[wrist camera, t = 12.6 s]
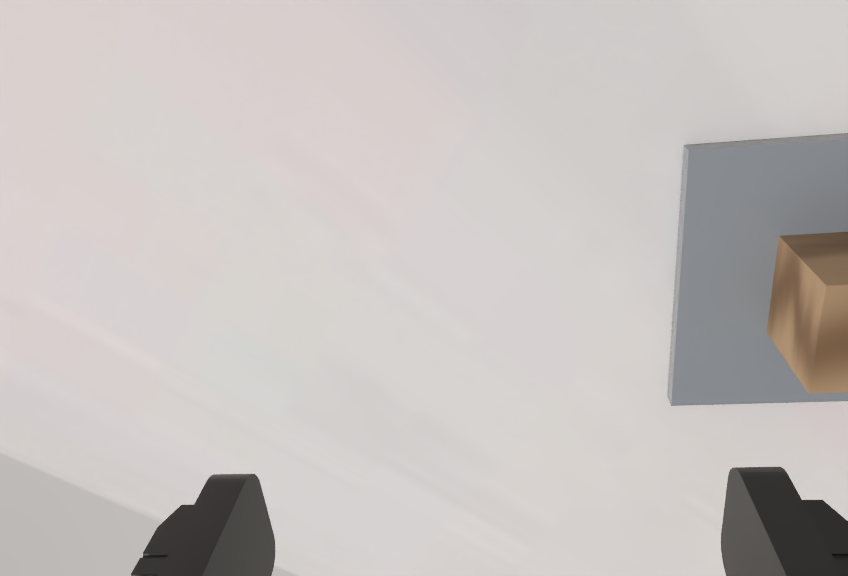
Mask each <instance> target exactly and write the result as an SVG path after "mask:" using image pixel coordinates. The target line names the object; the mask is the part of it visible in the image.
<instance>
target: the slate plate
mask: <svg viewBox="0 0 848 576" xmlns="http://www.w3.org/2000/svg"><path fill="white" fill-rule="evenodd" d="M834 232H848V133H847V134H833V135H819V136H805V137H791V138H777V139H763V140H749V141H735V142H721V143H707V144H693V145H684V155H683V170H682V185H681V200H680V215H679V230H678V246H677V261H676V276H675V291H674V306H673V321H672V336H671V351H670V366H669V382H668V399H669V401H670V404H671V406H676V405H714V404H751V403H788V402H825V401H848V392H840V393H810V394H808V392H807V391H806V389H805V388H804V386H803V385H802V383H801V382H800V380H799V379H798V378H797V376H796V375H795V373H794V372H793V370H792V369H791V367H790V366H789V364H788V363H787V362H786V360H785V359H784V357H783V356H782V354H781V353H780V351H779V350H778V348H777V347H776V346H775V344H774V343H773V341H772V340H771V338H770V337H769V335H768V334H767V325H768V317H769V310H770V302H771V294H772V286H773V278H774V271H775V263H776V255H777V247H778V239H779V236H784V235H801V234H817V233H834Z"/></svg>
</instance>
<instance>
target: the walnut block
mask: <svg viewBox="0 0 848 576" xmlns="http://www.w3.org/2000/svg"><path fill="white" fill-rule="evenodd" d="M767 334H768V335H769V337H770V338H771V340H772V341H773V343H774V344H775V346H776V347H777V348H778V350H779V351H780V353H781V354H782V356H783V357H784V359H785V360H786V362H787V363H788V364H789V366H790V367H791V369H792V370H793V372H794V373H795V375H796V376H797V378H798V379H799V380H800V382H801V383H802V385H803V386H804V388H805V389H806V391H807V392H808V394H810V393H840V392H848V232H834V233H817V234H801V235H784V236H779V239H778V247H777V255H776V263H775V271H774V278H773V286H772V294H771V302H770V310H769V317H768V325H767Z"/></svg>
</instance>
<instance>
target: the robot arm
mask: <svg viewBox="0 0 848 576" xmlns="http://www.w3.org/2000/svg"><path fill="white" fill-rule="evenodd" d="M721 550H722V558H723V564H724V569H725V572H726V576H848V521H847V520H845V519H844V518H843V517H842V516H841V515H840V514H838V513H837V512H836V511H835V510H834V509H832V508H831V507H830V506H829V505H828V504H827V503H825V502H824V501H823V500H801V498H800V496H799V494H798V492H797V490H796V489H795V487H794V485H793V483H792V481H791V479H790V478H789V476H788V474H787V472H786V471H785V470H784V469H783V468H781V467H745V468H732V469H731V470H730V472H729V476H728V483H727V491H726V500H725V508H724V516H723V525H722V533H721ZM274 560H275V539H274V534H273V530H272V527H271V523H270V519H269V515H268V511H267V508H266V504H265V500H264V496H263V492H262V489H261V485H260V482H259V479H258V477H257V476H256V475H255V474H218V475H212V476H211V477H210V478H209V479H208V480H207V482H206V484H205V486H204V487H203V489H202V491H201V493H200V495H199V497H198V499H197V501H196V503H195V504H194V505H181V506H180V507H179V508H178V509H177V510H176V511H175V512H174V513H172V514H171V515H170V516H169V517H168V518H167V519H166V520H165V521H164V522H163V523H162V524H161V525H160V526H159V527H158V528H157V530H156V531H155V533H154V535H153V536H152V538H151V540H150V542H149V544H148V545H147V547H146V549H145V551H144V552H143V558H140V560H139V561H138V563H137V565H136V566H135V568H134V570H133V572H132V573H131V576H271V574H272V571H273V567H274Z"/></svg>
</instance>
